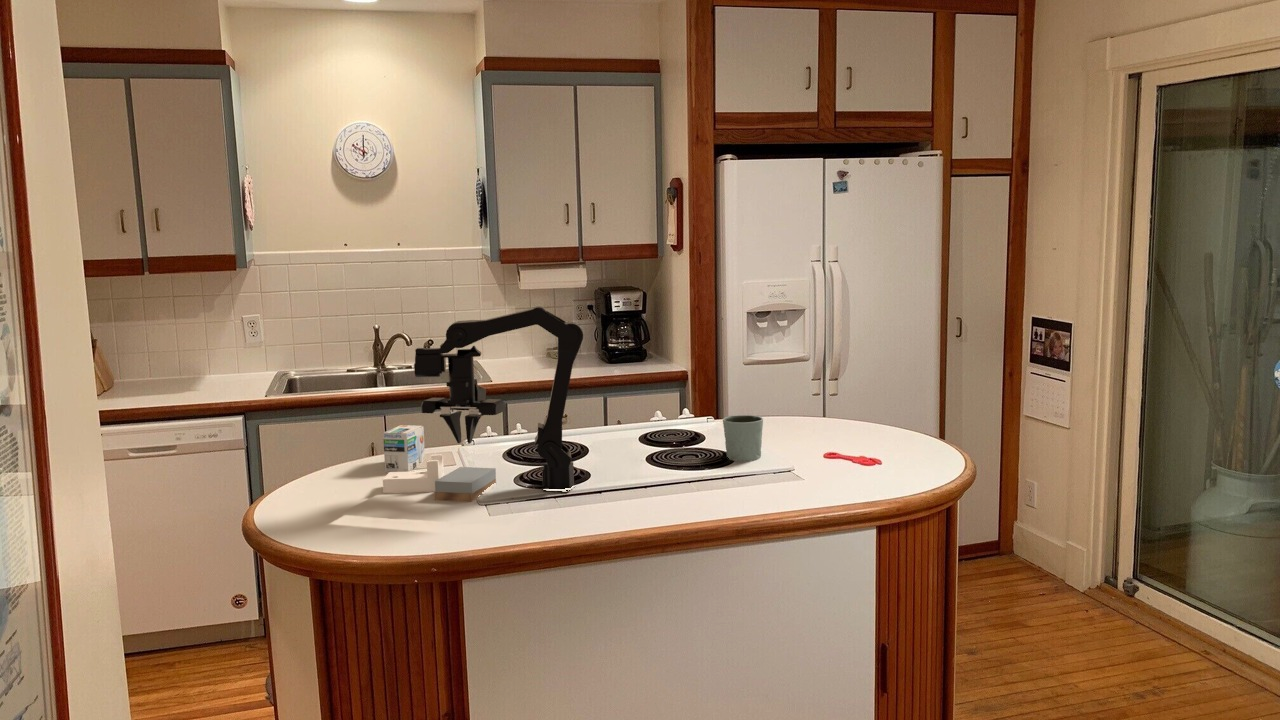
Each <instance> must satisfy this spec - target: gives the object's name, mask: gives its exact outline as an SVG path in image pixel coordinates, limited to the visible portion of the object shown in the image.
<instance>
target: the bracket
mask: <svg viewBox="0 0 1280 720" xmlns="http://www.w3.org/2000/svg"><path fill="white" fill-rule="evenodd" d="M430 459H431V460H430ZM430 459H429V460H427V461H426V470H421V471H420V470H417V471H414V470H412V471H410V472H387V474H386V475H385V476H384V477H383V479H382V487H383V488H382V490H383V494H393V493H395V494H396V493H397V494H398V493H400V494H401V493H402V494H403V493H430V492H431V493H434V492H435V481H436V480H438V479H440V478H441V477H443V476H445V472H444V471H445V470H444V455H443V454H441V453H440V454H431V458H430Z"/></svg>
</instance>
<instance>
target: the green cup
mask: <svg viewBox="0 0 1280 720" xmlns="http://www.w3.org/2000/svg"><path fill="white" fill-rule="evenodd" d="M722 422H723V423H722V425H723V433H724V434H723V435H724V440H725V443H724V444H725V450H726V451H725V452H726V458H727V457H728V458H729V459H728V458H727V459H728V460H730V461H733V462H740V463H741V462H754V461H757V460H759V459H761V457H762V439H763V429H764V428H763V425H764V418H763V417H762V416H759V415H753V414H736V415H728V416H726V417H723V418H722Z"/></svg>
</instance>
